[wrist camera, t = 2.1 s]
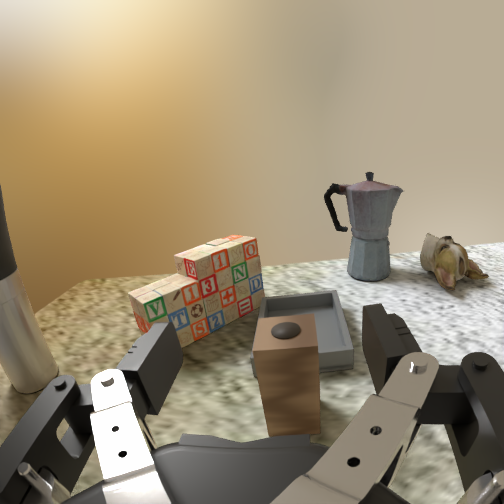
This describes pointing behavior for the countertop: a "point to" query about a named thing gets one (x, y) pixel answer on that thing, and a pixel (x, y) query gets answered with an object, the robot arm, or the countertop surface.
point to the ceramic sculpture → (448, 261)
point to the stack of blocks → (203, 289)
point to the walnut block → (288, 374)
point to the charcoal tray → (327, 325)
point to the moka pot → (367, 225)
